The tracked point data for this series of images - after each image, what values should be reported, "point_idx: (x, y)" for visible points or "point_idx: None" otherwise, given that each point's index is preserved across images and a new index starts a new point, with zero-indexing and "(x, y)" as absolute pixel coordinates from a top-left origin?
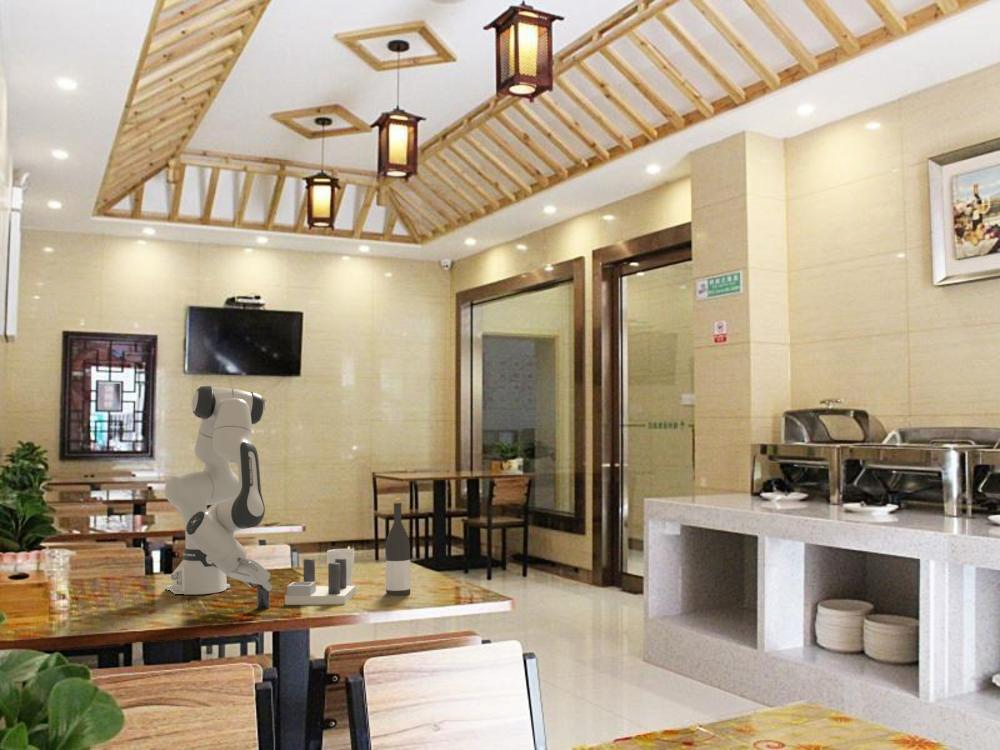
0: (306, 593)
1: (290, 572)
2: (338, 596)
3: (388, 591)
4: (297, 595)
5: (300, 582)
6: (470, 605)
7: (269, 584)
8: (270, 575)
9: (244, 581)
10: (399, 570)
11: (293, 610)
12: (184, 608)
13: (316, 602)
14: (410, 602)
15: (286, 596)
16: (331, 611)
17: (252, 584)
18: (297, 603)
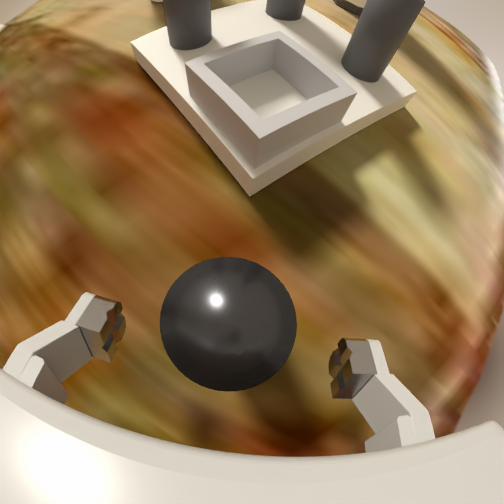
0: (333, 121)
1: (12, 29)
2: (406, 96)
3: (361, 9)
4: (297, 142)
5: (230, 54)
6: (498, 81)
7: (384, 369)
8: (499, 426)
9: (66, 374)
10: None
11: (383, 264)
12: None
13: (352, 131)
14: (452, 67)
15: (258, 175)
16: (466, 205)
17: (112, 332)
18: (296, 165)
